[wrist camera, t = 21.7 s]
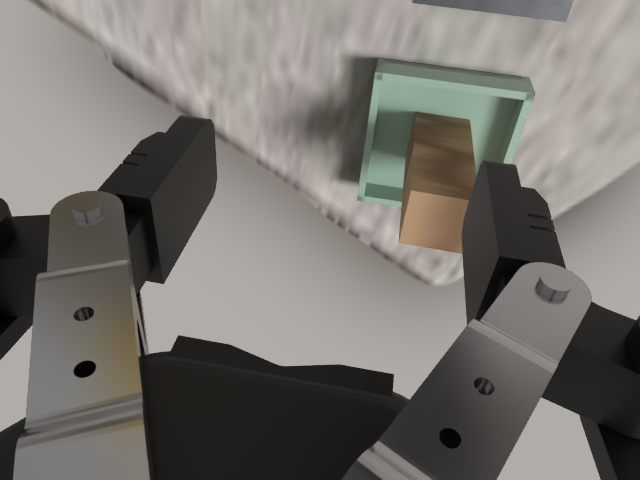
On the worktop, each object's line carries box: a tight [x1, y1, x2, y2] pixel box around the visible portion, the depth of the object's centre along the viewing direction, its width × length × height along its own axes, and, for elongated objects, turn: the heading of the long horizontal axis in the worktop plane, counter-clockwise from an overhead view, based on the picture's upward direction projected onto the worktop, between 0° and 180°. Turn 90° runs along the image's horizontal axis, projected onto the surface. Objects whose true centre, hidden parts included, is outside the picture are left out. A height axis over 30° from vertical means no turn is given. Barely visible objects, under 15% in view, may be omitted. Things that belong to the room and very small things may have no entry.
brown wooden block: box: [399, 111, 477, 253], centre depth 41 cm, size 4×4×12 cm
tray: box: [357, 58, 535, 207], centre depth 45 cm, size 12×12×3 cm
